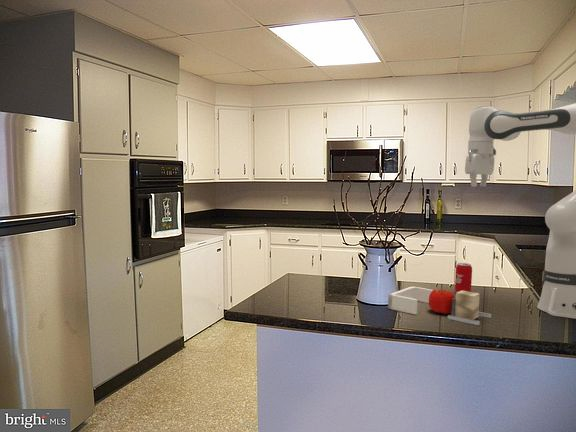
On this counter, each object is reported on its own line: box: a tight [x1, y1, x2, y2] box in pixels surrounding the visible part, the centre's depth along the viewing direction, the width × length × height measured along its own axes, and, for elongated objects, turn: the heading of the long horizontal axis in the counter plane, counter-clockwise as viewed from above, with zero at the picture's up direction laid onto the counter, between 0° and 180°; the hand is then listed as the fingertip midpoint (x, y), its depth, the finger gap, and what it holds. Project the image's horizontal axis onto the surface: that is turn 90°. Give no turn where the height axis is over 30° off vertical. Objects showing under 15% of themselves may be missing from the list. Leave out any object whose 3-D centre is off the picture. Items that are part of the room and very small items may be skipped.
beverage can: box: [454, 262, 473, 294], centre depth 194 cm, size 6×6×12 cm
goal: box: [387, 286, 434, 315], centre depth 173 cm, size 10×18×5 cm, turn 139°
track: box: [447, 311, 492, 326], centre depth 160 cm, size 10×12×1 cm
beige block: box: [450, 291, 480, 320], centre depth 160 cm, size 7×7×8 cm
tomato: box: [428, 288, 456, 315], centre depth 166 cm, size 9×9×8 cm
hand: (478, 186), depth 183 cm, fingers open, 8 cm apart
